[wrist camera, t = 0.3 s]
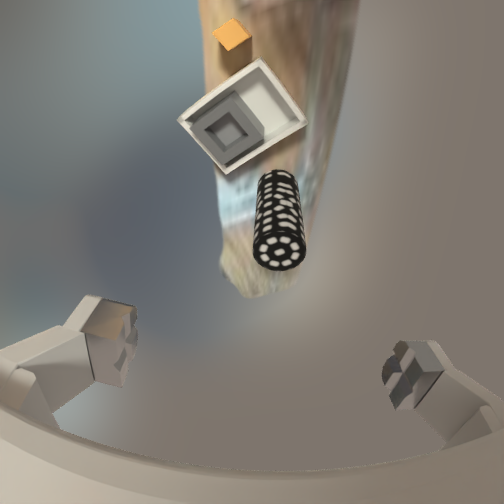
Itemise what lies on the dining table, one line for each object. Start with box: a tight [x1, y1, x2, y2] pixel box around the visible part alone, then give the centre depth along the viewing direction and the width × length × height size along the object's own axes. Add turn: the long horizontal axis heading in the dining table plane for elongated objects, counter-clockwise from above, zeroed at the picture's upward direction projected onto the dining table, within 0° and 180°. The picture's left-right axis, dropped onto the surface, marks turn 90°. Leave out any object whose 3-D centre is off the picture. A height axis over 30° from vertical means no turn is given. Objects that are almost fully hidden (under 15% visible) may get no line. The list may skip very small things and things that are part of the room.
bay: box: [177, 57, 309, 174], centre depth 49 cm, size 18×14×7 cm
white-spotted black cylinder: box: [253, 170, 306, 271], centre depth 54 cm, size 8×8×20 cm
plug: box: [212, 18, 252, 51], centre depth 38 cm, size 4×4×7 cm
